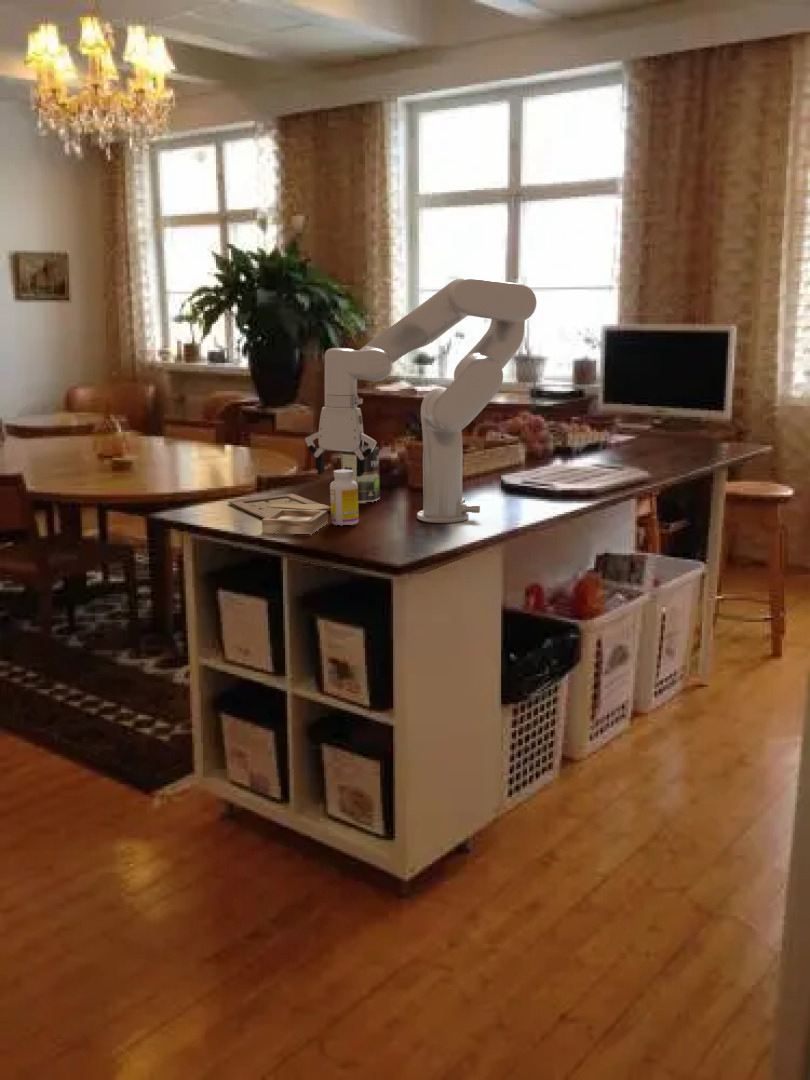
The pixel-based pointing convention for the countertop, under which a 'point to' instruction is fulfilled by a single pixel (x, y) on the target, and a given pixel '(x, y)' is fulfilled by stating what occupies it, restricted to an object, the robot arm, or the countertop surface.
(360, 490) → the coffee can
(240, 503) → the picture frame
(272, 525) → the stand
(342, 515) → the supplement bottle
